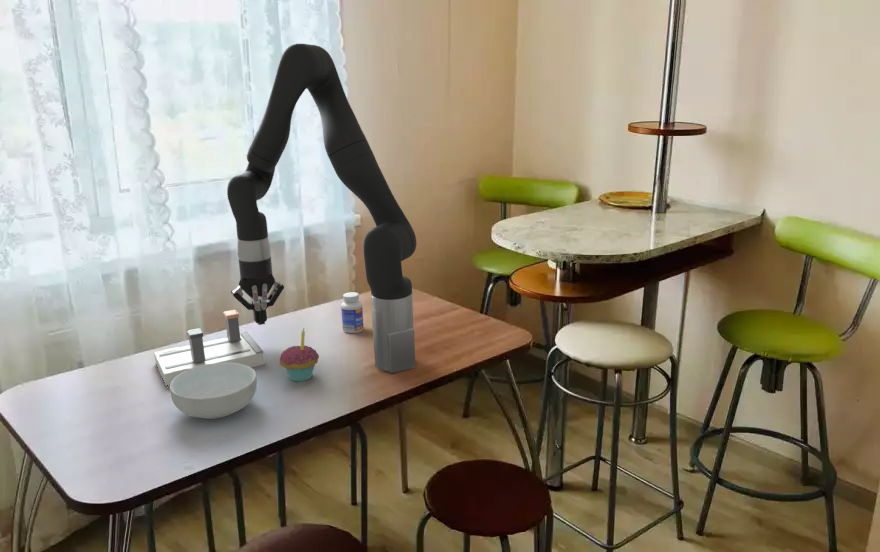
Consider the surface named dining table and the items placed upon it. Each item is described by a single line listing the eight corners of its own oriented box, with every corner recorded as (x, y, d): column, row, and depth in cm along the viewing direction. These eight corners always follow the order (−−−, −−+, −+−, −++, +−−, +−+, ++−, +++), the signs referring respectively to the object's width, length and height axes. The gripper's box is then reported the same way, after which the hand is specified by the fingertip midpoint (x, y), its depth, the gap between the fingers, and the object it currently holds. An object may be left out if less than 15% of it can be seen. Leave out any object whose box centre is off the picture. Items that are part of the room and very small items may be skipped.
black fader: (206, 361, 166) (202, 332, 164) (193, 364, 164) (189, 335, 162) (203, 356, 169) (199, 328, 166) (190, 358, 167) (186, 330, 165)
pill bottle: (360, 334, 188) (357, 298, 185) (339, 333, 189) (337, 297, 186) (366, 326, 193) (364, 291, 190) (346, 325, 194) (344, 290, 191)
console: (264, 364, 171) (263, 350, 170) (166, 386, 161) (163, 372, 160) (248, 344, 183) (247, 331, 182) (155, 363, 173) (153, 350, 172)
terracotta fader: (241, 340, 177) (238, 313, 175) (229, 342, 176) (226, 315, 174) (238, 335, 180) (235, 309, 178) (226, 338, 178) (223, 311, 176)
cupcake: (327, 372, 166) (323, 322, 163) (305, 388, 159) (301, 336, 155) (295, 366, 170) (291, 317, 166) (273, 381, 162) (268, 331, 159)
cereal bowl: (213, 439, 139) (208, 405, 137) (156, 418, 148) (151, 386, 146) (276, 402, 153) (273, 371, 151) (221, 385, 161) (217, 355, 159)
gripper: (230, 264, 169) (237, 333, 174) (286, 255, 175) (291, 323, 180) (222, 256, 175) (230, 323, 181) (277, 248, 181) (282, 314, 187)
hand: (261, 323), depth 180 cm, fingers closed
